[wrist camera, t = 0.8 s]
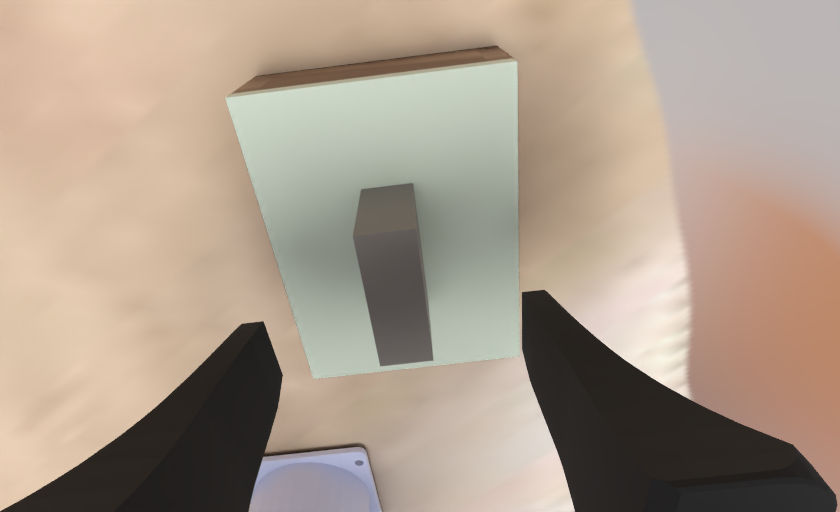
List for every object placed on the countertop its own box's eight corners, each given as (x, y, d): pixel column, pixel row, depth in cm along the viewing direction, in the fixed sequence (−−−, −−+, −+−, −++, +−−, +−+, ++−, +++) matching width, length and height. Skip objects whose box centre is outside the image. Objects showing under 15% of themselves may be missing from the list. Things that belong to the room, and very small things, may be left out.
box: (503, 306, 24) (516, 347, 21) (324, 326, 24) (315, 369, 21) (496, 45, 17) (513, 57, 15) (255, 76, 18) (231, 93, 15)
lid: (516, 347, 21) (539, 419, 18) (315, 369, 21) (299, 445, 18) (513, 58, 15) (547, 83, 11) (231, 93, 15) (181, 128, 12)
